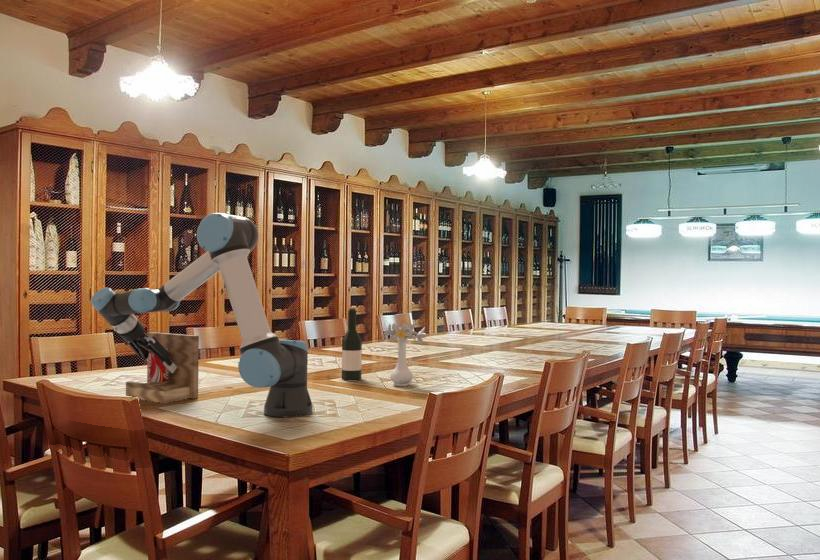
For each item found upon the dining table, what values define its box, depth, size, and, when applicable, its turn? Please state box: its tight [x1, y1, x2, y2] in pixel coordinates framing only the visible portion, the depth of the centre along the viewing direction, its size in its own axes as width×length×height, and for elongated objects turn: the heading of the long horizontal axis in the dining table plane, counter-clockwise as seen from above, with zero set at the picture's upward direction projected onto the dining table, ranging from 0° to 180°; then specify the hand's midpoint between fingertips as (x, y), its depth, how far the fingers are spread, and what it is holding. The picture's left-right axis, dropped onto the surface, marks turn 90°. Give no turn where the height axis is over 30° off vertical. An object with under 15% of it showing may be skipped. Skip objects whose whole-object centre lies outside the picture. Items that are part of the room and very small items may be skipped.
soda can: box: [148, 348, 170, 384], centre depth 224 cm, size 7×7×12 cm
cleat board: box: [125, 331, 200, 404], centre depth 224 cm, size 24×12×22 cm, turn 61°
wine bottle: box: [341, 307, 363, 381], centre depth 269 cm, size 8×8×30 cm
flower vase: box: [381, 322, 427, 387], centre depth 257 cm, size 13×18×25 cm
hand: (166, 369), depth 227 cm, fingers closed on soda can, 7 cm apart
